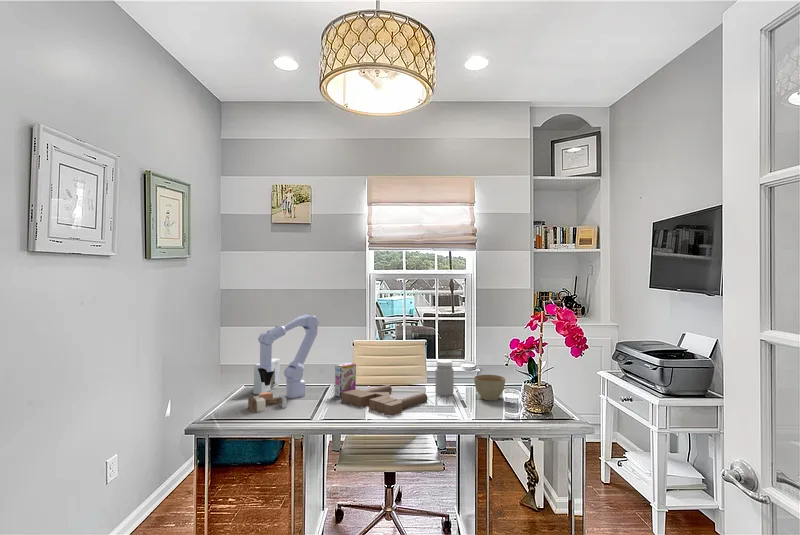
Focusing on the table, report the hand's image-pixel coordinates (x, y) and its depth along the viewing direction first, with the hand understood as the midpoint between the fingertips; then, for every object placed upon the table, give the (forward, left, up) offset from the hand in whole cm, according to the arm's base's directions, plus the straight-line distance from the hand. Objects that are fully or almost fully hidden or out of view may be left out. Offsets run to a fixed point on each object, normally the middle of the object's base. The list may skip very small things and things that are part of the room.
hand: (265, 383), depth 234 cm
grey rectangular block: (-5, +13, -9) cm, 16 cm away
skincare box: (-7, -26, -10) cm, 29 cm away
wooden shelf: (+1, +12, -10) cm, 15 cm away
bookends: (-54, +28, -10) cm, 62 cm away
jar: (-88, +30, -10) cm, 94 cm away
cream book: (+6, +13, -9) cm, 17 cm away
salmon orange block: (0, 0, -10) cm, 10 cm away
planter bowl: (-104, +48, -10) cm, 115 cm away
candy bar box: (-41, +5, -10) cm, 43 cm away
